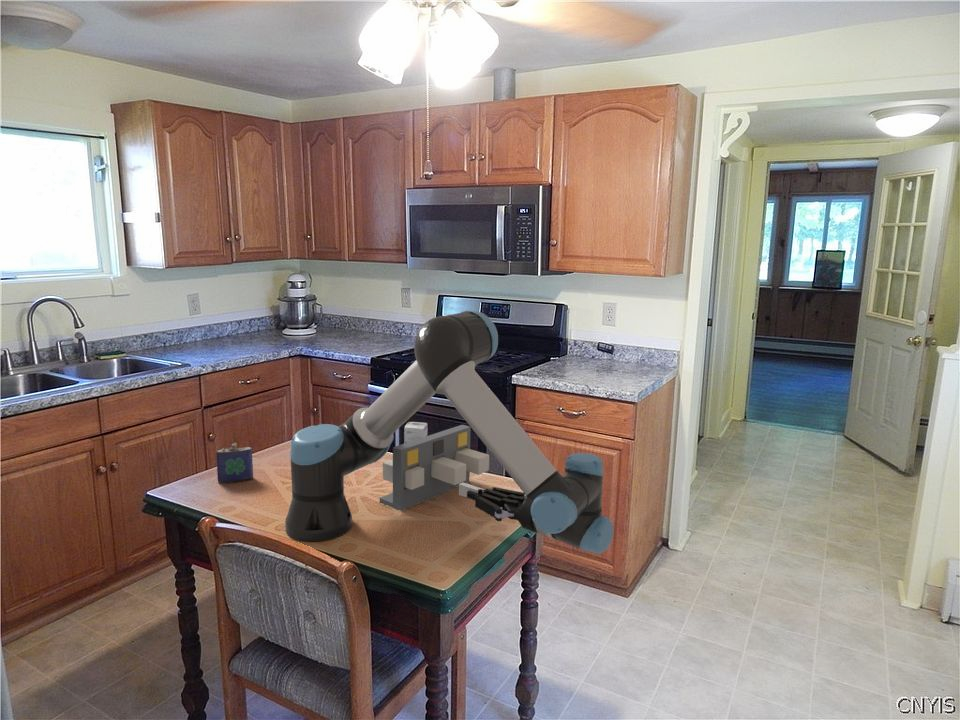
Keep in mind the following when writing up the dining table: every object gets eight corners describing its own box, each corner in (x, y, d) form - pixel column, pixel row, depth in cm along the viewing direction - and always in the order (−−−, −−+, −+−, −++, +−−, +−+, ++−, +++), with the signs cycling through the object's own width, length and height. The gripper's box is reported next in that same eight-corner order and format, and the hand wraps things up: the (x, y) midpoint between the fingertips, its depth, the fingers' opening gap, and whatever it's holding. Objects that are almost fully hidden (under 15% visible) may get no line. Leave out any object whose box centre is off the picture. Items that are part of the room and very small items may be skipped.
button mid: (454, 485, 161) (455, 468, 160) (424, 474, 167) (425, 458, 166) (466, 480, 164) (466, 464, 163) (436, 470, 171) (436, 454, 170)
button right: (478, 474, 168) (478, 459, 167) (449, 465, 174) (449, 449, 174) (488, 470, 171) (489, 454, 170) (459, 461, 178) (459, 446, 177)
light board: (402, 511, 158) (402, 450, 155) (379, 502, 163) (379, 442, 160) (470, 481, 178) (471, 427, 175) (448, 474, 183) (449, 421, 180)
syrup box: (427, 469, 187) (427, 421, 184) (423, 476, 181) (423, 427, 178) (408, 467, 188) (408, 420, 185) (403, 475, 182) (403, 426, 179)
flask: (253, 476, 178) (251, 440, 176) (253, 480, 176) (252, 443, 174) (217, 481, 175) (215, 443, 173) (217, 484, 172) (215, 447, 170)
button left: (411, 489, 157) (411, 473, 156) (382, 479, 164) (382, 462, 163) (424, 484, 160) (424, 468, 160) (395, 474, 167) (395, 458, 166)
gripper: (524, 543, 132) (442, 512, 147) (558, 522, 142) (478, 495, 157) (525, 509, 131) (442, 481, 146) (559, 490, 141) (478, 466, 156)
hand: (460, 488), depth 151 cm, fingers closed
